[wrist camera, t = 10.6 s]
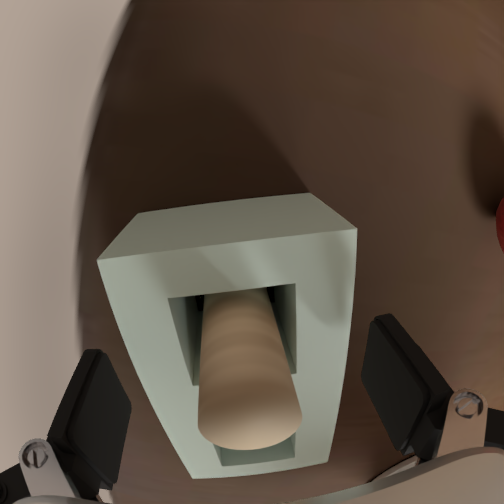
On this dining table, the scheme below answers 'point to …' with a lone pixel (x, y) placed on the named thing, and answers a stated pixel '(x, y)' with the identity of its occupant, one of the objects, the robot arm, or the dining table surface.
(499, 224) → the pomegranate
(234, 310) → the dowel
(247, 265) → the hole block
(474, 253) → the dining table surface
